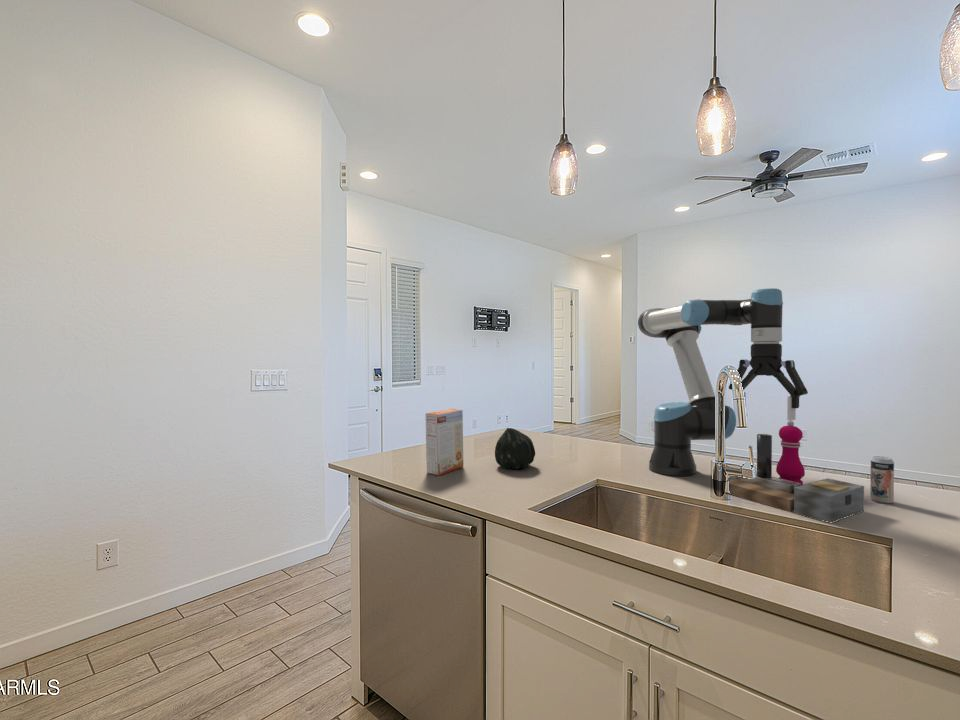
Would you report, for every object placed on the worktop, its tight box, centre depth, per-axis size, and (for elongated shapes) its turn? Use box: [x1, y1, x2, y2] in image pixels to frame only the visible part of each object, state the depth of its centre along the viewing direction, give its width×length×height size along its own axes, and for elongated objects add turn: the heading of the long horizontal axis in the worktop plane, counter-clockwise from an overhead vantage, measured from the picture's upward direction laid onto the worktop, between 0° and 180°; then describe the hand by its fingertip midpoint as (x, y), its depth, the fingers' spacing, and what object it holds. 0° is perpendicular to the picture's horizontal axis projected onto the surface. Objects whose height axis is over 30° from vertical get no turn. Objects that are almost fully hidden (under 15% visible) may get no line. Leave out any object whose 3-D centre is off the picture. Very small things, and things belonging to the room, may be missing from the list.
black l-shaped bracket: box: [756, 433, 801, 492], centre depth 124 cm, size 12×4×14 cm, turn 28°
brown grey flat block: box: [728, 472, 865, 522], centre depth 121 cm, size 27×17×7 cm, turn 28°
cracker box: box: [425, 408, 464, 476], centre depth 154 cm, size 14×6×21 cm, turn 144°
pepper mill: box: [775, 420, 806, 485], centre depth 135 cm, size 7×7×20 cm
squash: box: [494, 427, 536, 470], centre depth 158 cm, size 14×15×15 cm
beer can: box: [869, 455, 895, 505], centre depth 120 cm, size 5×5×12 cm
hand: (765, 416), depth 126 cm, fingers open, 13 cm apart
